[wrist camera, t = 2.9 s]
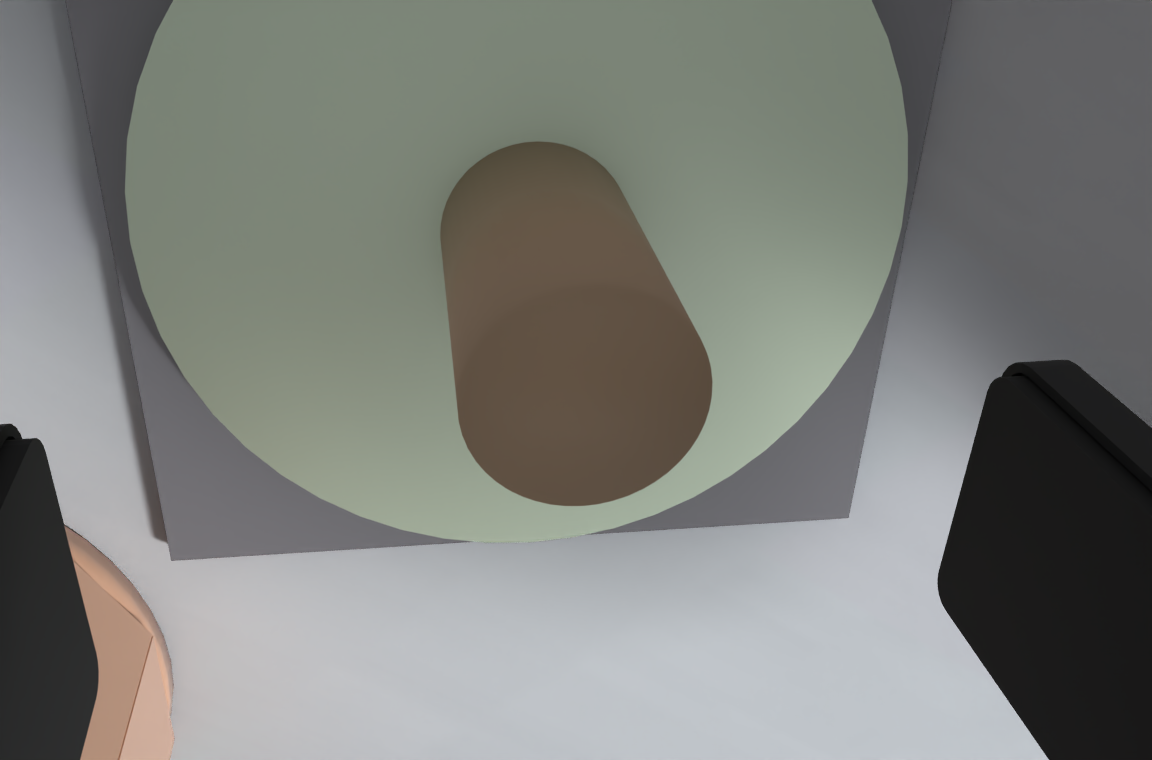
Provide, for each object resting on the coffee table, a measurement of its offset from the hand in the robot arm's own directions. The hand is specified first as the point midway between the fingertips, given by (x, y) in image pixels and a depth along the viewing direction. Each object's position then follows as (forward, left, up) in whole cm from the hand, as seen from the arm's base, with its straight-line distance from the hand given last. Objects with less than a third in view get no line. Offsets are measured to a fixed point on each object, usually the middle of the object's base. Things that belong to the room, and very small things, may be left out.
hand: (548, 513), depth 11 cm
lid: (-1, 0, -9) cm, 9 cm away
